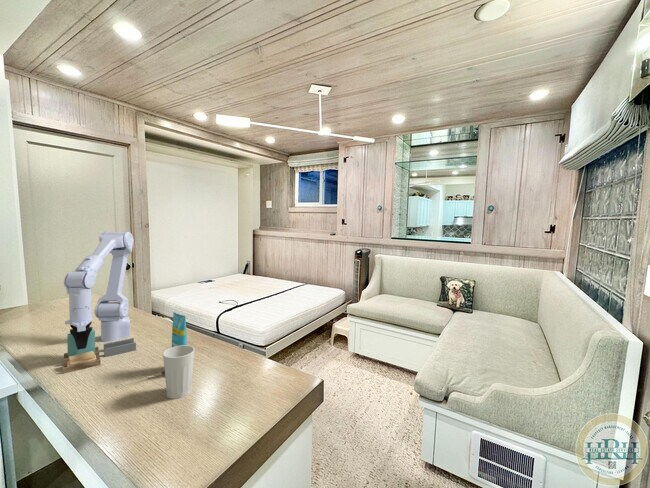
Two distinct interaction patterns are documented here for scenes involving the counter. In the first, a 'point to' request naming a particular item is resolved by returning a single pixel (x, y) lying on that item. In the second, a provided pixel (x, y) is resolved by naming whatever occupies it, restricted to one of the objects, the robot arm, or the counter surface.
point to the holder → (119, 347)
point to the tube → (179, 330)
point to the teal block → (74, 351)
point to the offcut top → (81, 357)
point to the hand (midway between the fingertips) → (81, 345)
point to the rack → (81, 366)
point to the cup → (178, 370)
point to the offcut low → (81, 362)
